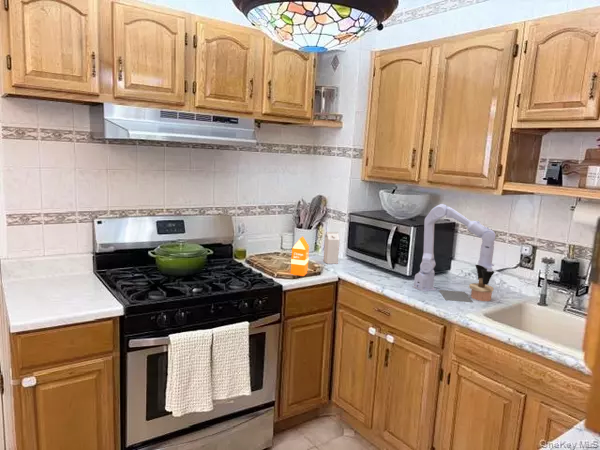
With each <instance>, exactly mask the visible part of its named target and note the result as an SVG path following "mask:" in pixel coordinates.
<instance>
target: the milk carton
mask: <svg viewBox="0 0 600 450" xmlns="http://www.w3.org/2000/svg"><path fill="white" fill-rule="evenodd" d="M340 240H341V239H340V236H339V232H338V231H327V232H326V234H325V236H324V247H323V262H324V263H326V264H329V265H330V264H331V265H333V264H334V265H336V264H337V265H338V264H339V255H340V254H339V253H340V252H339V251H340Z"/></svg>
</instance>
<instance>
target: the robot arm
mask: <svg viewBox="0 0 600 450" xmlns="http://www.w3.org/2000/svg"><path fill="white" fill-rule="evenodd" d="M444 217H445V218H447V219H451V218H452V219H454V220H456V221H457V222H459V223H460V224H463V225H464V226H466V227H467V231H469V232H470V233H471V234H474V235H475V236H476V237H479V238H481V240H482V241H481V245H480V253H479V259H478V263H477V264H475V268H476V271H477V272H476V273H477V280H478V281H479V278H483V284H485V285H489V283H490V280H491V278H492V277H493V276H494V274H495V271H494V270H493V267H495V264H494V263H493V258H494V250H495V240H496V236H497V235H496V232H495V231H494V230H493V229H490V227H489V226H485V225H483V224H482V223H481V221H479V220H470V219H468V218H467V217H466V216H464V215H463V213H460V212H459V211H457V210H456V209H454V208H453V207H451V206H448V205H447V204H445V203H439V204H438V205H435V206H434V207H433V208H431V210H430V211H429V212H428V214H427V215H426V216H425V217H424V225H423V227H424V231H423V253H422V259H421V263H420V265H419V268H420V269H419V271H418V272H417V273H415V275H414V281H413V286H412V288H414V289H417V290H419V291H421V292H429V291H436V290H437V288H436V287H434V280H435V273H436V272H435V270H434V269H435V267H436V266H437V265H436V263H437V262H436V260H435V253H434V245H435V244H434V243H435V224H436V222H437V221H438V220H439V219H442V218H443V219H444Z"/></svg>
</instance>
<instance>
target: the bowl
mask: <svg viewBox="0 0 600 450" xmlns="http://www.w3.org/2000/svg"><path fill="white" fill-rule="evenodd" d="M470 296H471V297H470V298H472V299H473V300H477V301H481V302H490V301H491V300H492V296H493V292H479V291H475V290H472V289H471V293H470Z"/></svg>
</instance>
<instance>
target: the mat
mask: <svg viewBox="0 0 600 450" xmlns="http://www.w3.org/2000/svg"><path fill="white" fill-rule="evenodd" d="M438 291H439V293H440V294H441V296H442V298H443V299H444V300H445V301H451V302H462V303H463V302H464V303H474V301H473V300H472V299H471V297H470V296H469V295H468V294H467V292H465V291H459V290H447V289H446V290H445V289H438Z"/></svg>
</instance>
